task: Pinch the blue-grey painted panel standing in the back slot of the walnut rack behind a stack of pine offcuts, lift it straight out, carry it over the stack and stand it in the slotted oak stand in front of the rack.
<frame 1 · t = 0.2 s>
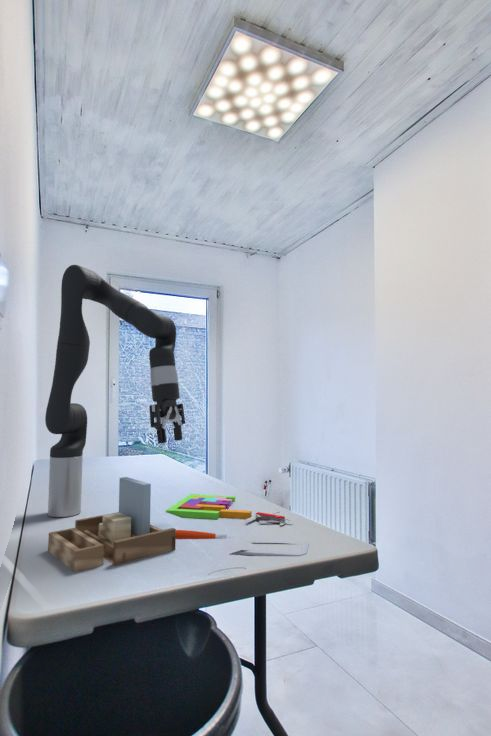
hand: (170, 441, 118), 23 cm above the table, fingers open, 8 cm apart
rack: (123, 549, 98), on the table
offcut mid: (114, 535, 98), point 3 cm above the table, touching offcut long, offcut short
swiss army knife: (273, 523, 121), on the table
offcut short: (116, 526, 97), point 6 cm above the table, touching offcut mid
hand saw: (240, 550, 100), on the table
panel: (133, 541, 100), point 1 cm above the table, touching rack
stand: (74, 563, 90), on the table
offcut long: (115, 545, 97), point 1 cm above the table, touching offcut mid, rack
toy blocks: (216, 511, 135), on the table
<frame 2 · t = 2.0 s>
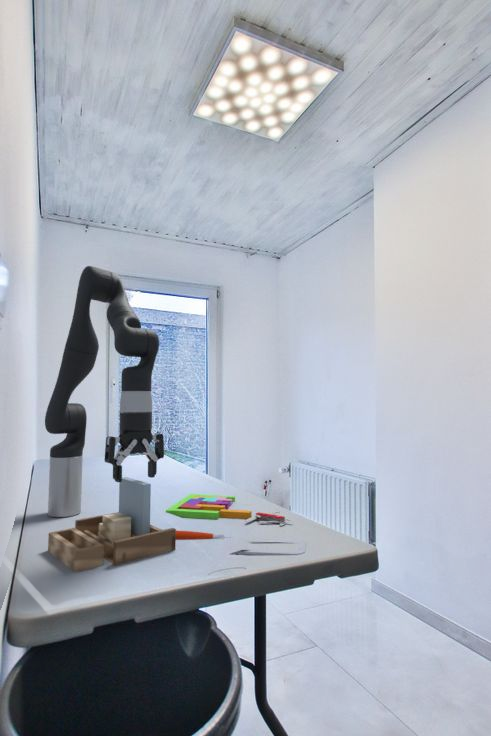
hand: (135, 479, 101), 16 cm above the table, fingers open, 8 cm apart
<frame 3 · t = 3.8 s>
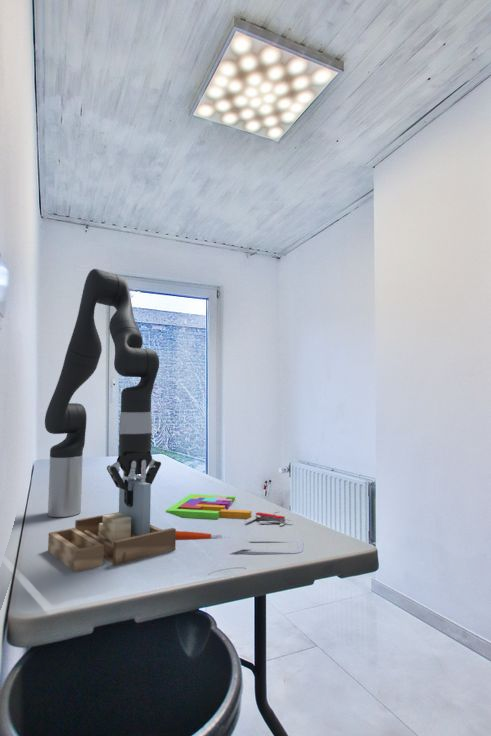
hand: (133, 505, 101), 10 cm above the table, fingers closed on panel, 2 cm apart
panel: (133, 541, 100), point 1 cm above the table, touching gripper
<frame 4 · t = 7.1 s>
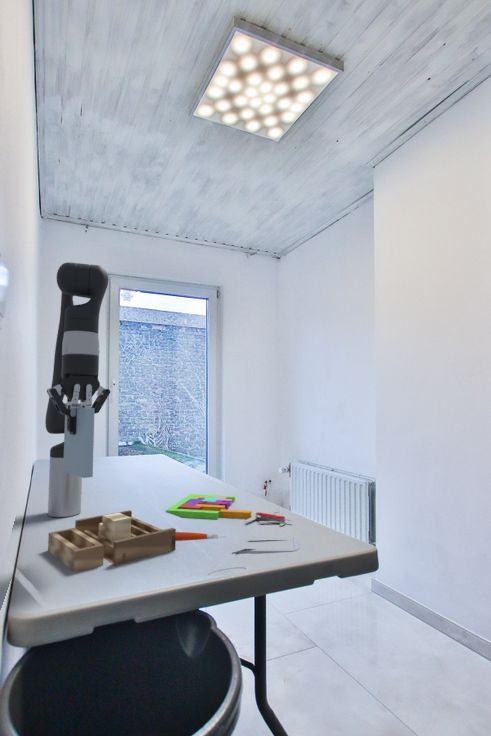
hand: (78, 433, 92), 27 cm above the table, fingers closed on panel
panel: (77, 473, 91), point 18 cm above the table, touching gripper
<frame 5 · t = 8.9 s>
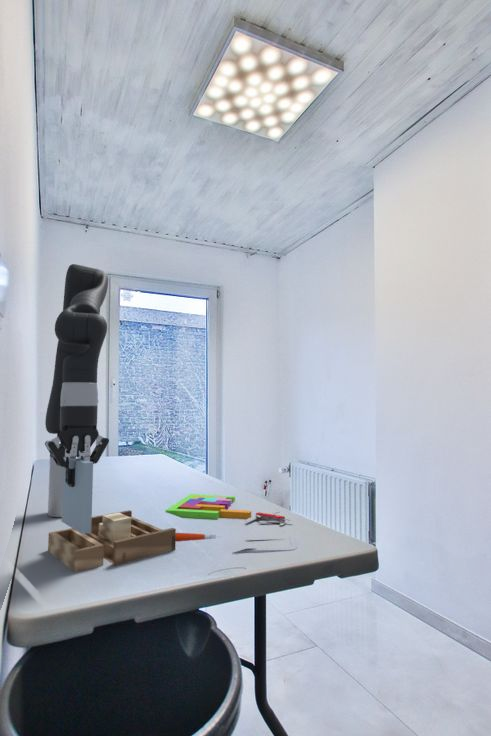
hand: (76, 485, 91), 16 cm above the table, fingers closed on panel
panel: (75, 526, 91), point 7 cm above the table, touching gripper
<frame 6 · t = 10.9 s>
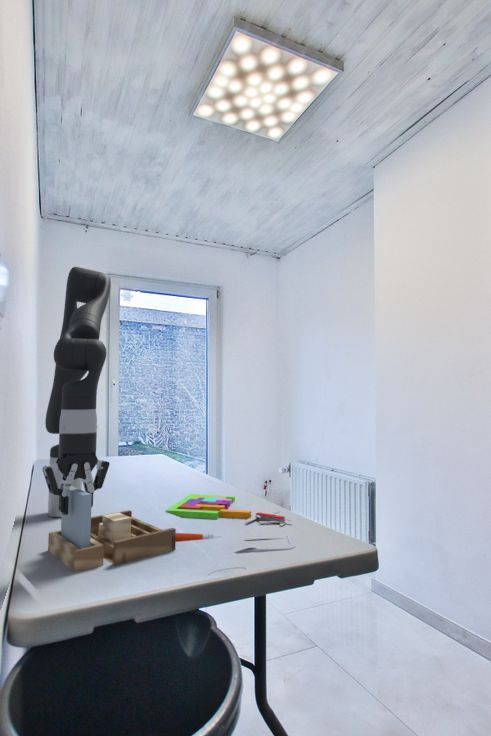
hand: (75, 511, 91), 11 cm above the table, fingers open, 4 cm apart
panel: (74, 558, 90), point 1 cm above the table, touching stand
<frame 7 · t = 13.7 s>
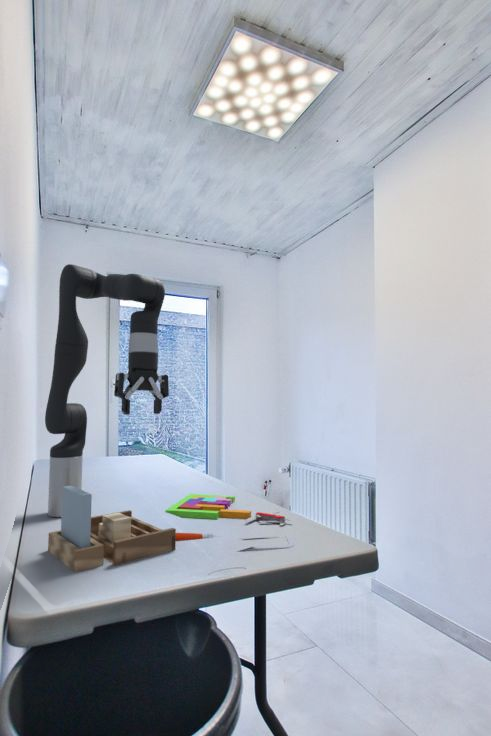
hand: (141, 414, 111), 31 cm above the table, fingers open, 8 cm apart
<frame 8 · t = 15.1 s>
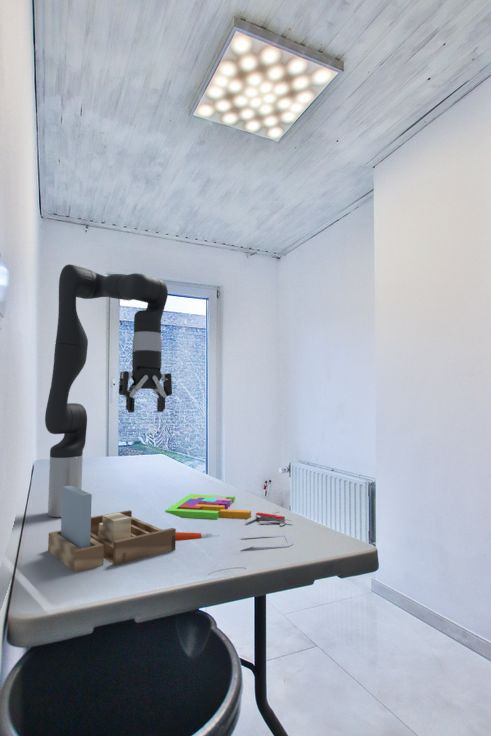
hand: (145, 412, 112), 31 cm above the table, fingers open, 8 cm apart
at the end: panel 0.1 cm off-centre on the stand, point 1.0 cm above the stand's base; panel tilted 0°; the gripper is holding nothing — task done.
